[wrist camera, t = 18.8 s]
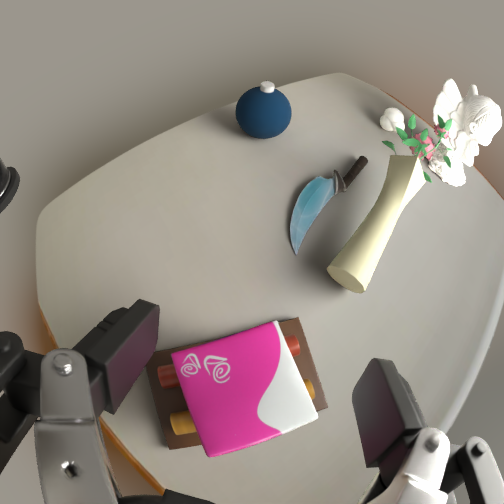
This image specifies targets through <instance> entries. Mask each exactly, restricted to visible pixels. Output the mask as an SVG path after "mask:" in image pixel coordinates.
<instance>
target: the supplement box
mask: <svg viewBox="0 0 504 504" xmlns="http://www.w3.org/2000/svg"><path fill="white" fill-rule="evenodd" d="M171 357H172V360H173V363H174V367H175V370H176V373H177V376H178V379H179V383H180V386H181V389H182V392H183V395H184V398H185V401H186V403H187V406H188V409H189V412H190V415H191V418H192V420H193V423H194V425H195V428H196V431H197V433H198V436H199V438H200V441H201V443H202V446H203V448H204V450H205V453H206V455H207V456H208V457H215V456H219V455H223V454H227V453H230V452H234V451H237V450H240V449H244V448H247V447H250V446H253V445H256V444H258V443H261V442H264V441H267V440H269V439H272V438H275V437H277V436H280V435H282V434H285V433H287V432H289V431H292V430H294V429H296V428H299V427H301V426H303V425H305V424H308V423H310V422H312V421H314V420H316V419H317V418H318V414H317V412H316V410H315V407H314V405H313V403H312V400H311V398H310V396H309V394H308V391H307V389H306V387H305V384H304V382H303V380H302V378H301V375H300V373H299V371H298V369H297V366H296V364H295V362H294V359H293V357H292V355H291V353H290V350H289V348H288V346H287V344H286V341H285V339H284V336H283V334H282V332H281V329H280V327H279V324H278V322H277V321H276V320H274V321H271V322H268V323H265V324H262V325H259V326H257V327H253V328H250V329H248V330H245V331H242V332H239V333H236V334H233V335H230V336H227V337H224V338H221V339H218V340H215V341H212V342H208V343H205V344H202V345H198V346H195V347H192V348H188V349H185V350H182V351H178V352H174V353H172V354H171Z"/></svg>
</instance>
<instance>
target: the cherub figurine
mask: <svg viewBox="0 0 504 504" xmlns="http://www.w3.org/2000/svg"><path fill="white" fill-rule="evenodd" d="M500 113H501V112H500V108H499V106H498V105H497V104H495V103H494V102H493V101H492V100H491V99H490V98H489V97H486V96H481V95H478V91H477V87H476V86H475V85H471V86H470V88H469V90H468V92H467V96H466V97H465V98H464V99H462V97H461V95H460V92H459V90H458V88H457V85H456V83H455V82H454V81H453V80H452V79H447V80H446V81H445V82H444V85H443V90H442V91H441V92H440V93H439V94H438V96H437V98H436V104H435V106H434V108H433V114H434V116H433V121H434V123H435V124H436V126H437V124H439V123H438V115H439V116H440V117H441V118H442V119H443V121H444V122H445V123H446V121H447V120H450V119H452V125H451V128H450V130H449V133H450V134H447V135H448V136H449V137H447V139H444V138H442V139H441V142H442V143H439V145H438V146H437V147H438V148H439V149H438V148H437V147H436V148H435V149H436V150H435V152H431V153H432V154H433V156H432V157H431V159H430V160H429V165H428V166H429V168H430V169H431V170H432V171H434V172H435V173H437V175H439V176H440V177H441V179H442V181H444V182H447V183H448V184H450V185H454V186H458V185H459V186H462V184H464V183H465V180H466V178H465V176H464V173H463V164H462V162H464V163H465V164H466V165H468V166H472V165H473V161H474V155H478V153H479V147H478V143H479V144H481V145H484V146H487V145H488V144H489V143H490V142H491V140H492V137H493V135H494V134H495V133H496V132H497V131H498V130H499V129H500V127H501V125H502V118H501V115H500ZM435 146H436V145H435ZM435 146H434V147H435ZM447 148H450V149H452V150H453V151H450V150H444V149H447ZM439 150H440V151H442V152H440V151H439ZM444 151H445V152H444ZM441 153H442V154H443V155H444V156H448V157H449V159H450V161H451V169H450V167H449V166H448V165H447V164H446V162H445V161H444V159H443V157H444V156H443V155H442V154H441ZM461 161H462V162H461Z"/></svg>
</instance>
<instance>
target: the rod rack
mask: <svg viewBox="0 0 504 504" xmlns="http://www.w3.org/2000/svg"><path fill="white" fill-rule="evenodd" d="M278 324H279V327H280V329H281V332H282V334H283V336H284V339H285V341H286V344H287V346H288V348H289V350H290V353H291V355H292V357H293V359H294V362H295V364H296V366H297V369H298V371H299V373H300V375H301V378H302V380H303V382H304V384H305V387H306V389H307V391H308V394H309V396H310V398H311V400H312V403H313V405H314V407H315V410H316V412H317V411H320V410H322V409H325V408H327V407H328V405H327V401H326V398H325V395H324V392H323V389H322V386H321V383H320V380H319V377H318V374H317V371H316V368H315V365H314V362H313V359H312V356H311V353H310V350H309V347H308V344H307V341H306V338H305V335H304V332H303V329H302V326H301V323H300V320H299V317H297V318H294V319H290V320H287V321H284V322H280V323H278ZM223 338H224V337H223ZM219 339H221V338H219ZM215 340H218V339H215ZM215 340H210V341H206V342H202V343H197V344H193V345H188V346H183V347H178V348H173V349H168V350H163V351H158V352H154V353H153V355H152V356H151V358H150V359H149V361H148V362H147V364H146V368H147V372H148V377H149V381H150V385H151V389H152V393H153V397H154V401H155V405H156V408H157V412H158V415H159V419H160V422H161V426H162V429H163V432H164V435H165V438H166V441H167V444H168V447H169V450H171V449H179V448H185V447H191V446H197V445H202V443H201V441H200V438H199V436H198V433H197V431H196V428H195V425H194V423H193V420H192V418H191V415H190V412H189V409H188V406H187V403H186V401H185V398H184V395H183V392H182V389H181V386H180V383H179V379H178V376H177V373H176V370H175V367H174V363H173V360H172V357H171V354H172V353H174V352H178V351H182V350H185V349H188V348H192V347H195V346H198V345H202V344H205V343H208V342H212V341H215Z"/></svg>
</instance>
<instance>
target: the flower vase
mask: <svg viewBox="0 0 504 504" xmlns="http://www.w3.org/2000/svg"><path fill="white" fill-rule="evenodd" d="M438 123H439V124H437V126H436V125H434V126H435V128H434V129H435V131H434V132H435V133H436V135H437V137H438V138H440V139H439V142H438V144H437V145H436V146H435V147H434V144H432V143H431V142H432V140H433V139H432V138H430V137H429V136H428V130H427V129H425V130H424V131H423V132H422V133H419V134H415V137H414V136H413V135H412V138H409V139H407V138H408V135H407V133H406V132H405V131H403V130H402V129H401V128H398V127H396V126H395V127H396V130H397V133H398V135H399V136H400V138H401V139H402V140H404V141H403V142H402V143H404V144H406V145H408V146H410V149H411V150H412V154H416V156H400V155H390V161H389V166H388V171H387V176H386V180H385V182H384V185H383V188H382V191H381V193H380V195H379V197H378V199H377V201H376V203H375V205H374V206H373V208H372V209H371V211H370V212H369V214H368V215H367V217H366V218H365V219H364V221H363V222H362V223H361V225H360V226H359V227H358V229H357V230H356V231H355V233H354V234H353V235H352V237H351V238H350V239H349V241H348V242H347V243H346V245H345V246H344V247H343V248H342V250H341V251H340V252H339V254H338V255H337V256H336V257H335V259H334V260H333V261H332V262H331V264H330V265H329V266H328V268H327V271H328V273H329V275H330V276H331V277H332V278H333V279H334V280H335V281H336V282H337V283H339V284H340V285H342V286H343V287H345V288H346V289H349V290H351V291H353V292H356V293H363V292H364V291H365V290H366V287H367V285H368V283H369V281H370V279H371V277H372V274H373V272H374V270H375V268H376V265H377V263H378V261H379V259H380V256H381V254H382V252H383V250H384V248H385V246H386V244H387V242H388V240H389V237H390V235H391V233H392V231H393V229H394V226H395V224H396V222H397V219H398V217H399V215H400V213H401V212H402V210H403V208H404V207H405V205H406V204H407V203H408V202H409V201H410V200H411V198H412V197H413V196H414V195H415V194H416V193H417V191H418V190H419V189H420V188H421V187H422V186H423V184H424V183H425V180H427V181H429V182H431V183H432V181H431V179H430V177H429V176H428V175H427V173H425V172H424V171H422V168H421V164H420V161H419V160H422V161H423V158H424V156H425V157H426V158H427V159H428V161H429V160H430V159H431V157H432V156H433V154H432V153H431V152H435V150H436V149H435V148H436V147H437V146H438V145H439V143H440V141H441V139H442V138H444V139H447V137H449V136H448V135H447V134H450V133H449V130H450V128H451V125H452V119H450V120H447V121H446V123H445V122H444V121H443V119H442V118H441V117H440V116H439V115H438ZM415 126H416V119H415V116H414V114H413V115H412V116H411V117H410V119H409V122H408V127H409V128H410V129H411V132H412V129H414V128H415ZM437 133H438V134H437ZM382 142H383V143H384V144H385V145H387V146H388V147H390V148H391V149H393V150H394V151H395V149H394V144H393V143H391V142H389V141H382ZM437 148H438V147H437ZM438 149H439V148H438ZM444 150H450V151H453V150H452V149H450V148H447V149H444ZM439 151H440V150H439ZM440 152H442V151H440ZM444 152H445V151H444ZM395 154H396V153H395ZM441 154H442V153H441ZM442 155H443V154H442ZM443 156H444V155H443ZM443 159H444V161H445V162H446V164H447V165H448V166H449V167H450V169H451V161H450V159H449V157H448V156H444V157H443Z"/></svg>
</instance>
